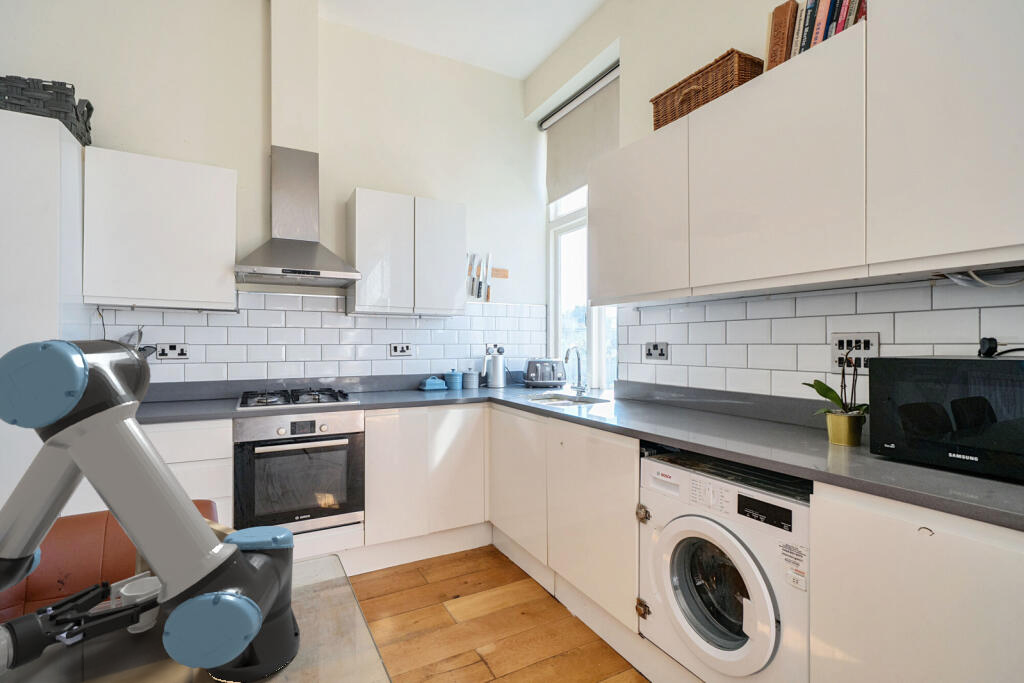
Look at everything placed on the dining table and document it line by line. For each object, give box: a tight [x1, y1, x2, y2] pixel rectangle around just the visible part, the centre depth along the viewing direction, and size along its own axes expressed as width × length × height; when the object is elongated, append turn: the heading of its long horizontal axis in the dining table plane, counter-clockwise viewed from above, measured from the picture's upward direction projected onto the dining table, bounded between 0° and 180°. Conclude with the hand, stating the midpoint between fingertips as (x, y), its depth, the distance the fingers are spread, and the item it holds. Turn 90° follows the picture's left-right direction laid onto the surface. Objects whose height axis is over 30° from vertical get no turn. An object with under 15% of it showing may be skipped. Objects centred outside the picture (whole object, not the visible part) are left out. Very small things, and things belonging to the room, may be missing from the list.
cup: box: [109, 577, 161, 634], centre depth 91 cm, size 7×10×8 cm
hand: (161, 584), depth 95 cm, fingers closed on cup, 9 cm apart
